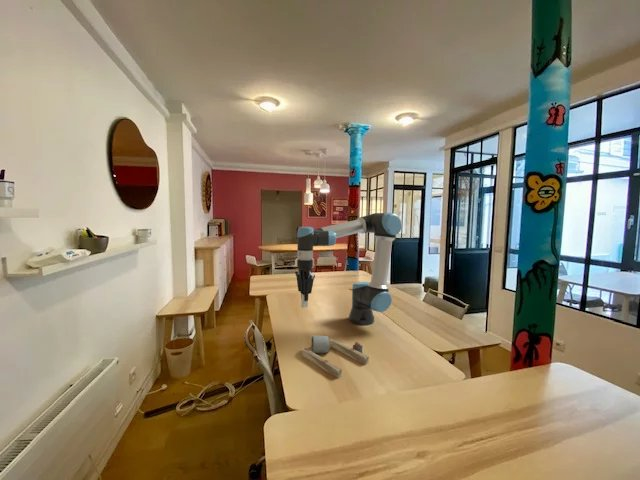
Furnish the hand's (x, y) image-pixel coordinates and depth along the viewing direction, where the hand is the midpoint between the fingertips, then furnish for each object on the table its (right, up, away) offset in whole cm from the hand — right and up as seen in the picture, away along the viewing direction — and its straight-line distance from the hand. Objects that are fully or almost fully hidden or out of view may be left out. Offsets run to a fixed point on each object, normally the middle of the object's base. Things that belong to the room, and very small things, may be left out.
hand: (304, 306), depth 138 cm
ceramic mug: (+7, -19, -7) cm, 21 cm away
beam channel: (+15, -19, -14) cm, 28 cm away
